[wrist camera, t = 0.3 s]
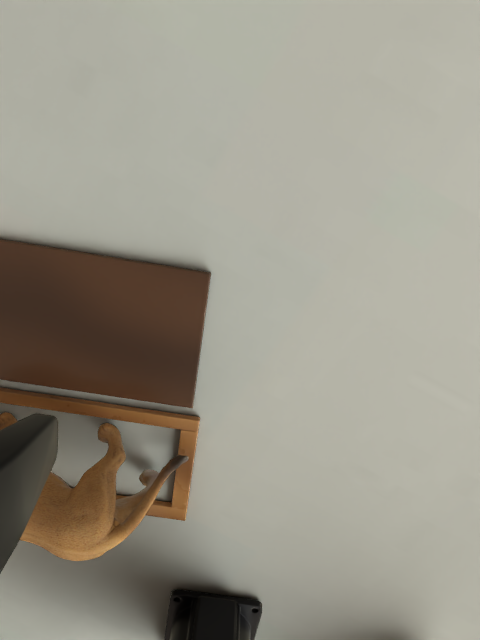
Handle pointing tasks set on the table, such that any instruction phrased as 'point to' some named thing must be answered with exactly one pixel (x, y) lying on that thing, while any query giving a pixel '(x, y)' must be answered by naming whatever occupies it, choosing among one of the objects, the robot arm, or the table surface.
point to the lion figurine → (91, 504)
